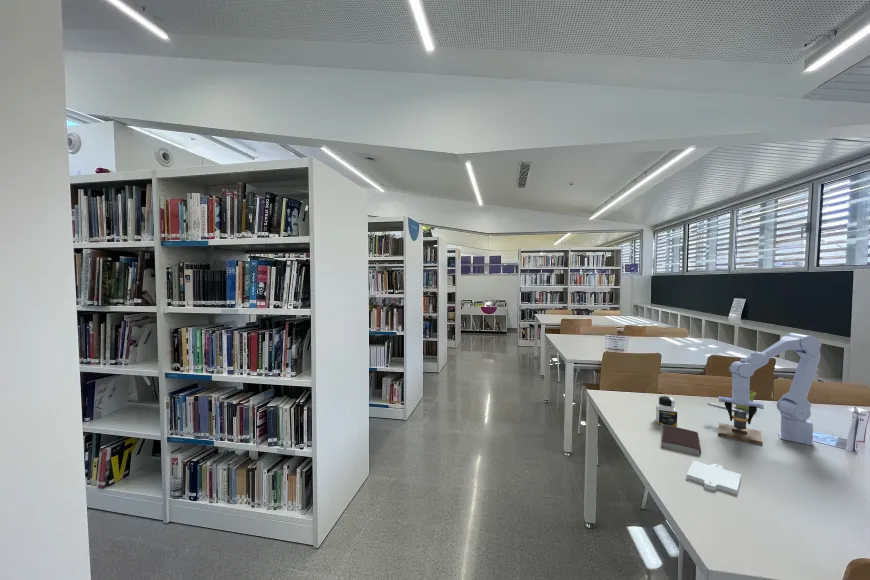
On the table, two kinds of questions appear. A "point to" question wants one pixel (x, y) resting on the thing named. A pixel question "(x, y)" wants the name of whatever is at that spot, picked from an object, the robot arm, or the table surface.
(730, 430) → the socket block
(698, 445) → the book
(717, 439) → the table surface
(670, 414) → the medicine bottle
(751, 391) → the plant pot
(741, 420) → the plug
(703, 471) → the mounting plate
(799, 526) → the table surface
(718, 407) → the grey rectangular bar
